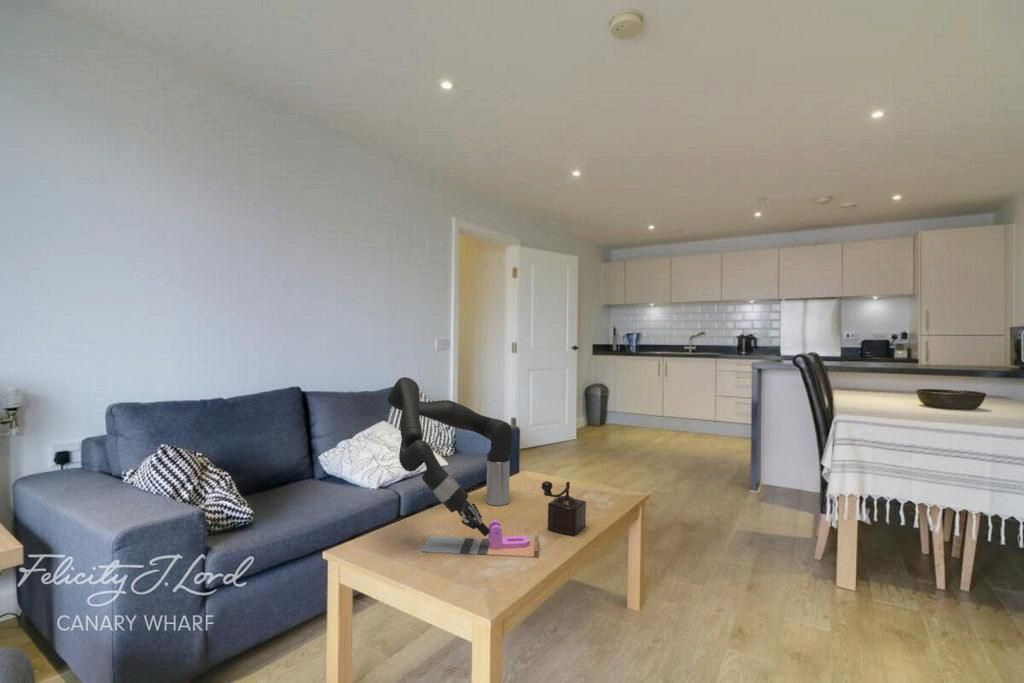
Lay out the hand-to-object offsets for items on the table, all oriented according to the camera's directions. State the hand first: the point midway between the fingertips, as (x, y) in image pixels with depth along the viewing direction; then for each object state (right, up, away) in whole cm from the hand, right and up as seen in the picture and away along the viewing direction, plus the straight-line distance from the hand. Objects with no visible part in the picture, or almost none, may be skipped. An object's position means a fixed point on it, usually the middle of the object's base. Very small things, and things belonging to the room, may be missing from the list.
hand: (487, 533), depth 151 cm
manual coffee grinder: (+25, -5, +14) cm, 30 cm away
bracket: (+7, -5, +2) cm, 8 cm away
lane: (-1, -5, +1) cm, 5 cm away
